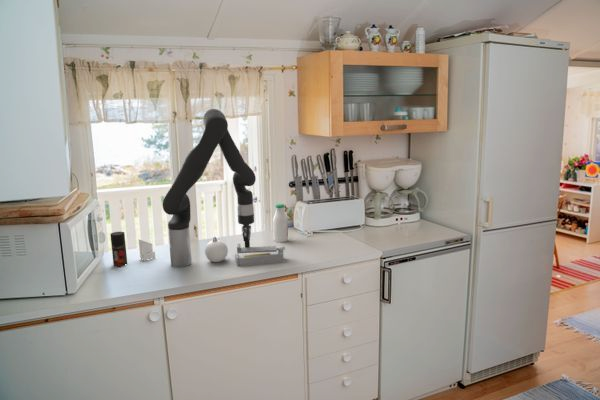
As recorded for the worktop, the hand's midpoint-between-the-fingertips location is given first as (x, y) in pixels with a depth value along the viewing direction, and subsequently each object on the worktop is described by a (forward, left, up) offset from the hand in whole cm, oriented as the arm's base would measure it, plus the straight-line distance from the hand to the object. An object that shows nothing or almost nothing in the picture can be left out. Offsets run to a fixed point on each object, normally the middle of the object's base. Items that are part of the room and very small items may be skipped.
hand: (247, 248), depth 215 cm
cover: (+6, -6, 0) cm, 8 cm away
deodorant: (-58, +9, -5) cm, 59 cm away
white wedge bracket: (-46, +14, -5) cm, 48 cm away
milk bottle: (+21, +21, -5) cm, 31 cm away
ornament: (-15, -1, -5) cm, 15 cm away
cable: (+3, -8, -4) cm, 10 cm away
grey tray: (+4, -4, -5) cm, 7 cm away
